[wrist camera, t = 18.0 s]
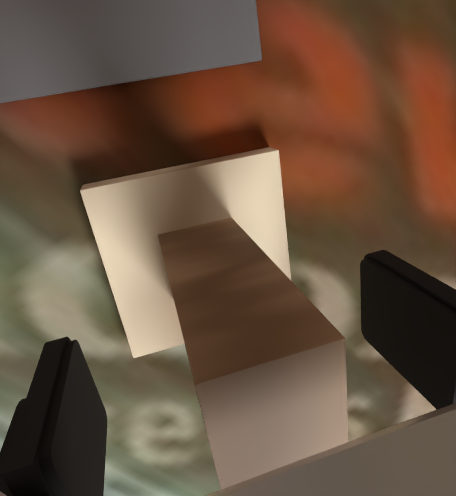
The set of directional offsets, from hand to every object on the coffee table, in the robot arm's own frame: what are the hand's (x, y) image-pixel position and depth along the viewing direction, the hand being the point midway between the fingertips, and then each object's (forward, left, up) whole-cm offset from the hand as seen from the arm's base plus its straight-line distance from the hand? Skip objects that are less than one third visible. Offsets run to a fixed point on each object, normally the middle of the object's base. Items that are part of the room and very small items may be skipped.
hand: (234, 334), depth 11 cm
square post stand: (0, 0, -7) cm, 7 cm away
